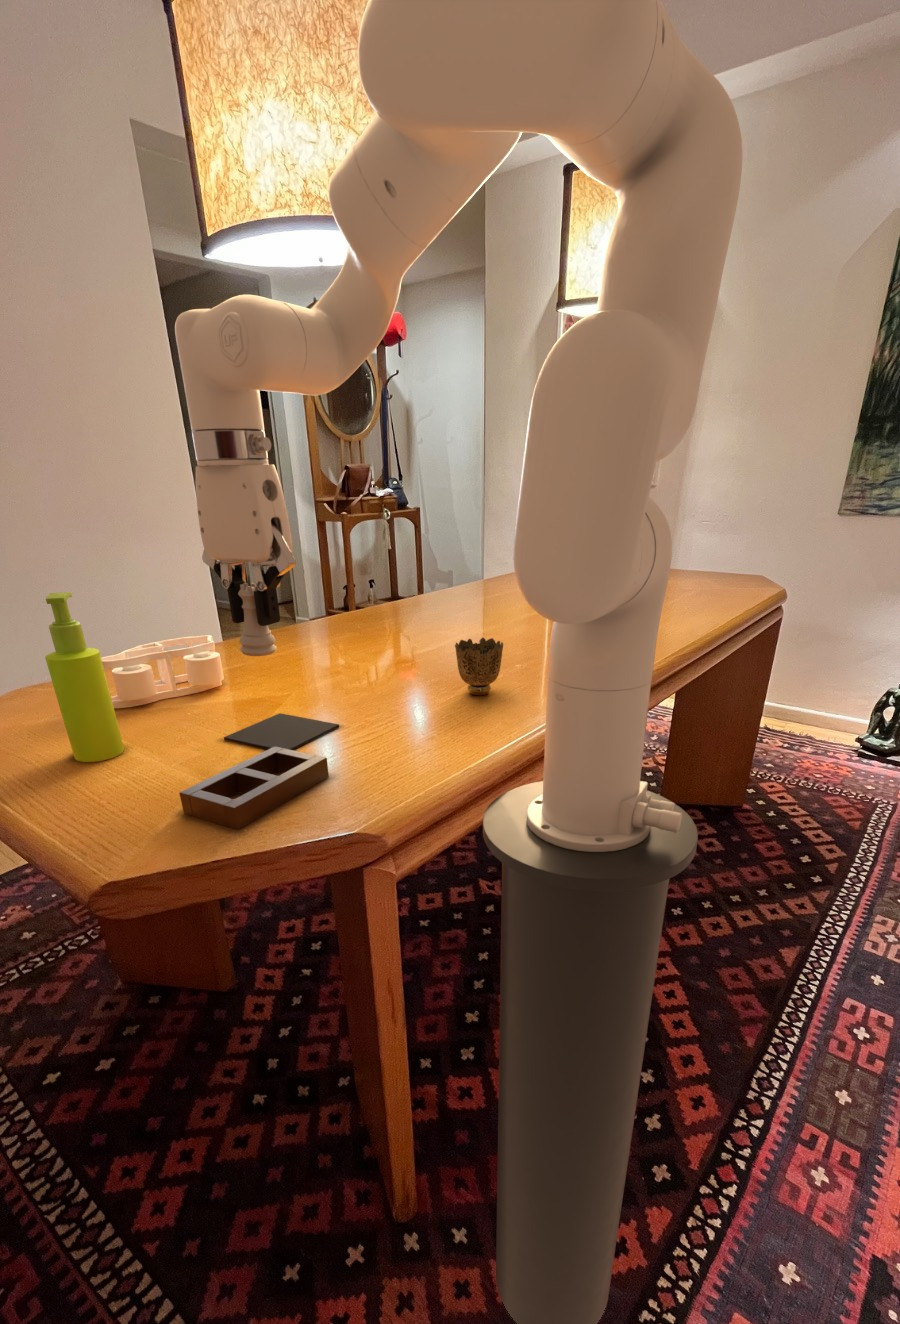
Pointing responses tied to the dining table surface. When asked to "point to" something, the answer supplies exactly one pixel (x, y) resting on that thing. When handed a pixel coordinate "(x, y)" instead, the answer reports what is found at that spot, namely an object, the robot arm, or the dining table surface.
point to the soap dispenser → (81, 688)
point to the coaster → (282, 732)
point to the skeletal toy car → (163, 670)
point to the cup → (479, 663)
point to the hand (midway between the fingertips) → (256, 620)
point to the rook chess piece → (254, 627)
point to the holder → (254, 787)
